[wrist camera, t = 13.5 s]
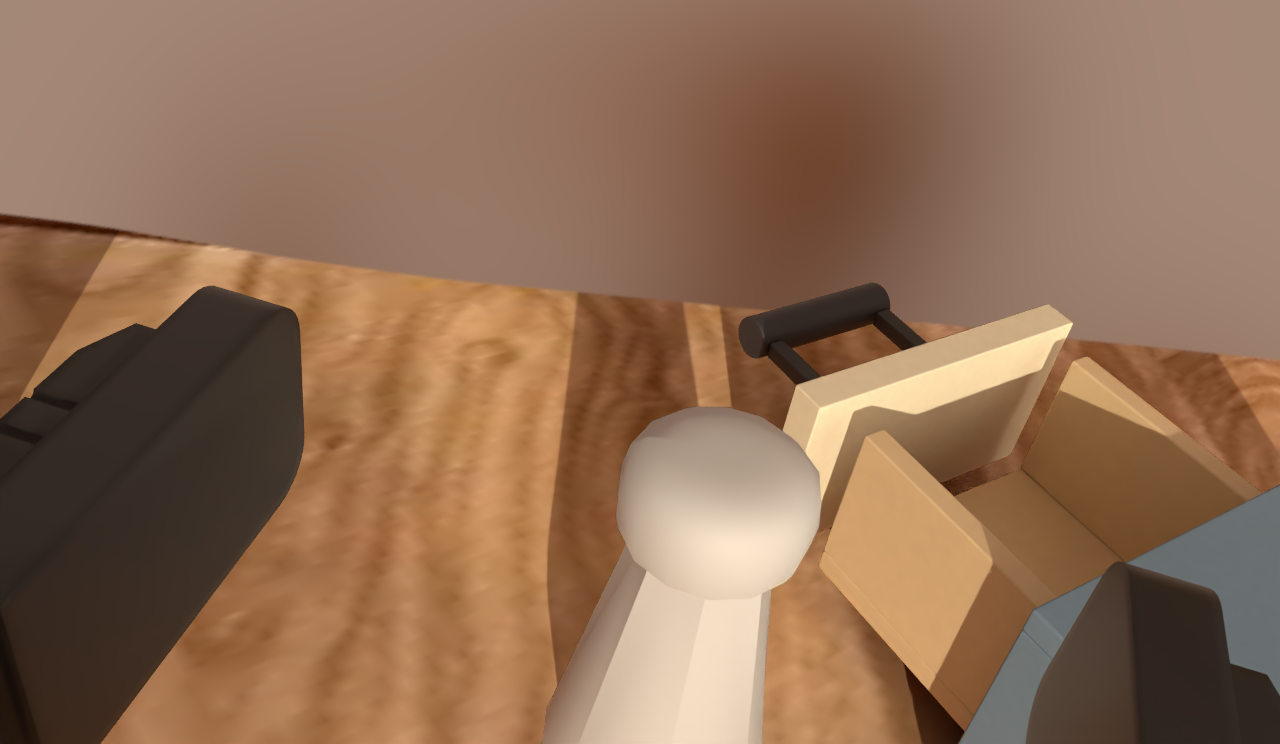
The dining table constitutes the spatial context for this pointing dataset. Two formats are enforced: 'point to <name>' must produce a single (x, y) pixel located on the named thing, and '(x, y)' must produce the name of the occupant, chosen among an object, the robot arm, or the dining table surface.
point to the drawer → (990, 513)
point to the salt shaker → (690, 585)
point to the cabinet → (1206, 555)
